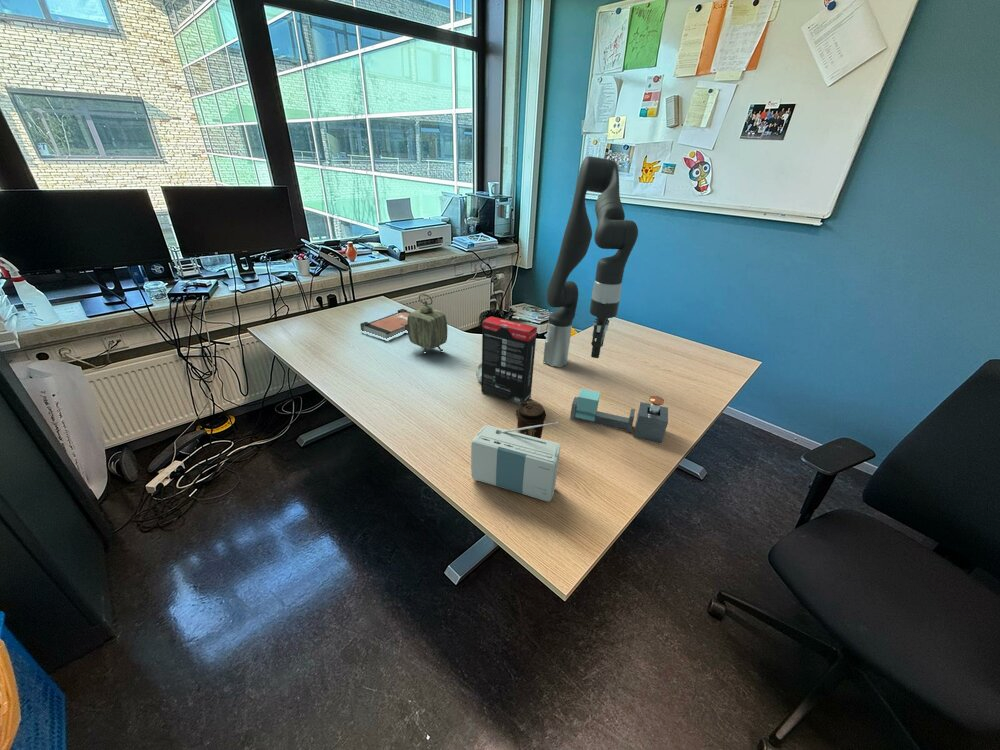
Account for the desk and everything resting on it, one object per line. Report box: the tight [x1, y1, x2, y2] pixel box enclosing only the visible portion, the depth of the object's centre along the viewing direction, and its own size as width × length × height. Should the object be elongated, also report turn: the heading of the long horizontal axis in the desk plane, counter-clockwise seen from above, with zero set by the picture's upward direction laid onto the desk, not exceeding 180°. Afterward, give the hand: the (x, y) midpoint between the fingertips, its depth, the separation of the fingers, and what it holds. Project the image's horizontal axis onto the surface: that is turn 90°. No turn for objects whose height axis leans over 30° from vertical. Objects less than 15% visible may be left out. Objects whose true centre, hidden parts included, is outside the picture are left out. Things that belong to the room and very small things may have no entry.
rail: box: [569, 396, 636, 434], centre depth 124 cm, size 19×4×6 cm, turn 70°
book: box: [359, 308, 412, 339], centre depth 186 cm, size 26×18×5 cm
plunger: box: [648, 395, 665, 415], centre depth 117 cm, size 4×4×7 cm
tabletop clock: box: [407, 293, 448, 353], centre depth 160 cm, size 14×9×25 cm, turn 58°
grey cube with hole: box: [633, 401, 669, 444], centre depth 119 cm, size 8×8×8 cm
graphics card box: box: [480, 316, 538, 406], centre depth 131 cm, size 17×7×27 cm, turn 61°
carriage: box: [575, 388, 601, 421], centre depth 124 cm, size 6×5×8 cm
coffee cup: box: [515, 401, 547, 439], centre depth 111 cm, size 9×8×13 cm
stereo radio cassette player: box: [470, 421, 562, 502], centre depth 96 cm, size 21×8×20 cm, turn 69°
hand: (596, 351), depth 115 cm, fingers open, 8 cm apart
